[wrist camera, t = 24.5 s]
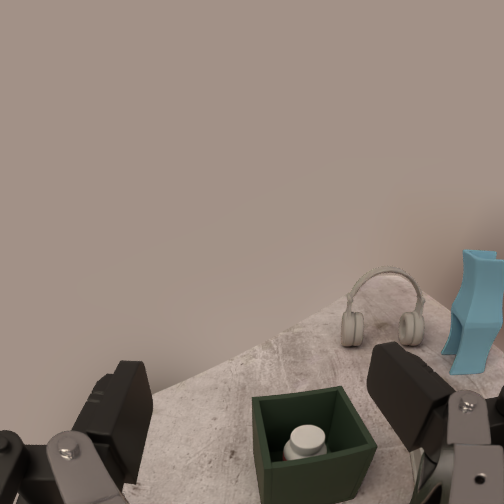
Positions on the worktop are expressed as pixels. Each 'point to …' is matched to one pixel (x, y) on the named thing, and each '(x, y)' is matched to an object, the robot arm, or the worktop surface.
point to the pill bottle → (305, 443)
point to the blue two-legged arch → (476, 312)
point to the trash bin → (316, 467)
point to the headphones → (409, 322)
